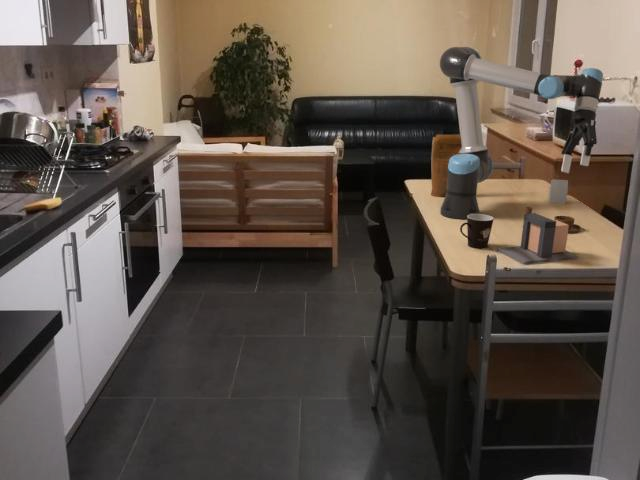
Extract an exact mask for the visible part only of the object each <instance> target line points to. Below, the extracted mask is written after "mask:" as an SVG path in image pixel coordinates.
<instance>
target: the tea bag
mask: <svg viewBox="0 0 640 480" xmlns="http://www.w3.org/2000/svg"><path fill="white" fill-rule="evenodd" d="M568 189H569V180H568V179H554V178H553V179H551V181H550V185H549V191H548V198H547V199H548V200H547V201H548V203H549V204H559V205H560V204H561V205H564V204H565V205H566V204H567V197H568Z"/></svg>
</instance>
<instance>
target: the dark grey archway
mask: <svg viewBox="0 0 640 480" xmlns="http://www.w3.org/2000/svg"><path fill="white" fill-rule="evenodd" d="M523 215H524V217H523V225H522V232H521V239H520V240H521V243H520V246H521V248H522V249H524V250H525V249H528V241H529V233H530V224H531V223H533V224H535V225H538V226H540V227H541V229H540V236H539V244H538V252H537V256H538V257H540V258H544V257H552V250H553V242H554V235H555V228H556V221H554V219H551V218H549V217H547V216H543V215H542V214H541V215H540V214H539V213H536V212H532V213H529V214H526V213H524V214H523Z"/></svg>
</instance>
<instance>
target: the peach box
mask: <svg viewBox="0 0 640 480" xmlns="http://www.w3.org/2000/svg"><path fill="white" fill-rule="evenodd" d="M553 220H554V219H553ZM554 221H556V228H555V235H554V242H553V250H552V253H558V252H565V250H566V248H567V240H568V234H569V233H568V228H569V225H567V224H565V223H562V222H560V221H557V220H554ZM540 229H541V227H540V226H538V225H535V224H533V223H531V224H530V233H529V241H528V249H529V250H531V251H533V252H535V253H537V252H538V244H539V236H540Z"/></svg>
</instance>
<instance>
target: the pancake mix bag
mask: <svg viewBox="0 0 640 480" xmlns="http://www.w3.org/2000/svg"><path fill="white" fill-rule="evenodd" d="M461 148H462V145H461V136H460V133H459V134H454V133H453V134H436V135H435V136H433V137H432V143H431V156H430V157H431V158H430V160H431V165H430V166H431V167H430V168H431V192H430V195H431V196H432V197H437V198H445V196H446V192H447V178H448V164H449V160H450V158H451V157H452V156H454V155H457V154H459V151H460V150H461Z"/></svg>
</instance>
